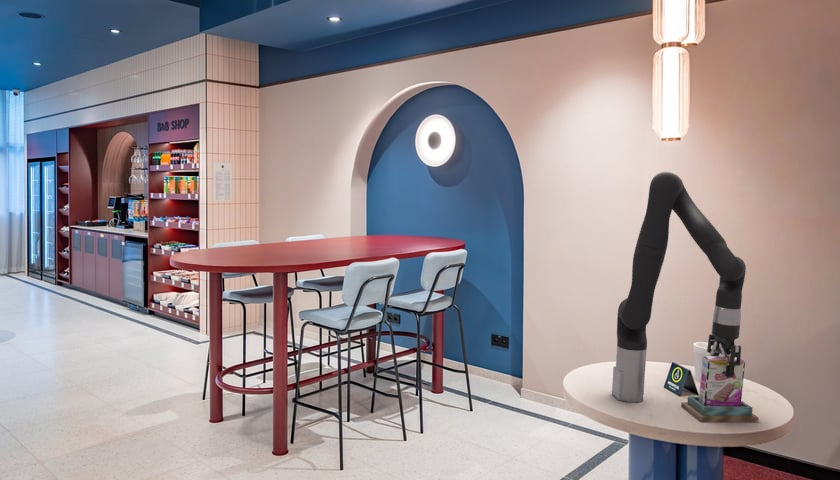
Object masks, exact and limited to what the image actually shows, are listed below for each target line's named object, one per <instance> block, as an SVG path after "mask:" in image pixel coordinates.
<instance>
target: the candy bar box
mask: <svg viewBox="0 0 840 480" xmlns="http://www.w3.org/2000/svg"><path fill="white" fill-rule="evenodd" d="M735 360H737V357H735ZM729 361H730V359H729ZM726 365H727V364H726V360H725V359H724V358H723V356H703V359H702V370H701V382H700V384H699V393H698V396H699V402H700V403H701V404H702V405H704V406H741V401H742V397H743V387H744V386H743V385H744V379H745V378H744V377H745V375H744V374H745V367H746V361H744V360H743V359H741V358H740V365H737V366H735V368H734V376H733V378H727V377H726V376H725V372H726Z"/></svg>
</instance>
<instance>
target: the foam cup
mask: <svg viewBox="0 0 840 480" xmlns="http://www.w3.org/2000/svg"><path fill="white" fill-rule="evenodd" d="M712 347H713V346H711V348H712ZM707 348H708V342H704V341H697V342H694V343H692V351H693V364H694V377H695V380H696V381H697V382H701V370H702V359H703V356H710V353H708V352H707ZM721 355H722V354H720V355H719V356H720V357H722V356H721Z"/></svg>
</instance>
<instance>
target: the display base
mask: <svg viewBox="0 0 840 480" xmlns="http://www.w3.org/2000/svg"><path fill="white" fill-rule="evenodd" d="M680 404H681V405H680V406H681V409H683V410H685V411H686V412H687V413H688V414H689V415H691V416H693V417H694V418H695V419H696V420H697V421H699V422H700V423H759V416H757V415H756V414H755V413H753V407H752V406H750V405H749V404H747V403H746V402H744V401H743V400H741V406H704V405H702V404H701V403H700V402H699V395H697V396H693V395H692V396H690V395H689V396H687V402H685V401H683V402H681V403H680Z"/></svg>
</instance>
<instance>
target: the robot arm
mask: <svg viewBox="0 0 840 480" xmlns="http://www.w3.org/2000/svg"><path fill="white" fill-rule="evenodd" d="M672 211H673V212H674V214H676V216H678V219H680V221H681V222H682V224H683V226H684V227H685V229H686V231H687V232H688V233H689V236H690V237H691V239H692V240H693V241H694V242H695V244H696V245H697V246H698V248H700V250H701V251H702V252H703V253H704V254H705V256H706V257H707V259H708V261H709V262H710V263H711V267H713V269H714V270H715V271H716V273H717V275H718V276H719V283H718V284H719V285H718V288H717V291H716V296H715V305H714V309H713V314H712V315H713V316H712V326H711V334H709V335H708V342H707V343H708V348H707V352H708V353H710V356H719V355H720V354H721V355H722V357H723V358H724V359H725V360H726V364H727V365H726V372H725V376H726V377H727V378H733V376H734V368H735V366H737V365H740V359H741V353H742V346H741V345H737V344H735V340H737V339H739V338H740V332H741V330H740V328H741V319H742V309H741V308H742V299H743V288H744V283H745V279H746V278H745V276H746V273H747V271H746V270H747V268H746V267H747V266H746V264H745V261H744V260H743V259H742V258H741V257H738V256H737V255H734V253H733V252H732V250H731V249H730V248H729V247H728V245H727V242H726V240H725V239H724V237H723V236H722V235H721V234H720V233H719V231H718V230H717V229H716V227H715V226H714V225H713V224H712V223H711V221H710V220H709V219H708V218H707V217H706V216H705V215H704V213H702V211H701V210H700V208H699V207H698V206H697V205H696V204H695V202H694V201H693V199H692V198H691V196H690V194H689V193H688V191H687V189H686V187H685V185H684V182H683V180H682V179H681V177H680V176H679V175H677V174H675V173H673V172H670V171H661V172H658V173H657V174H656V175H654V177H653V178H652V180H650V184H649V190H648V198H647V206H646V212H645V214H644V218H643V221H642V224H641V226H640V230H639V234H638V237H637V241H636V245H635V248H634V253H633V257H632V269H631V271H632V272H631V273H632V274H631V285H630V290H629V292H628V295H627V297H626V298H624V299H623V300H622V301H621V302H620V303H619V306H618V309H617V316H616V317H617V319H616V337H617V338H616V339H617V340H616V341H617V343H616V357H615V358H616V360H615V366H613V371H612V385H611V386H612V387H611V394H612V396H613V397H614V398H616V400H618V401H622V402H628V403H629V402H630V403H639V402H642V401H643V400H644V394H645V392H644V391H645V380H646V379H645V377H646V363H647V362H646V361H647V360H646V359H647V349H648V348H647V347H648V339H647V325H648V324H649V322H650V320H651V318H652V317H651V316H652V312H653V311H652V310H653V302H654V294H655V291H656V288H657V287H656V286H657V283H658V281H659V277H660V275H661V271H662V268H663V267H662V266H663V265H664V261H665V257H666V254H667V253H666V252H667V249H668V243H669V232H670V218H671V214H672ZM711 346H713V347H712V348H711ZM735 357H737V360H735ZM729 359H730V361H729Z"/></svg>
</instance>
